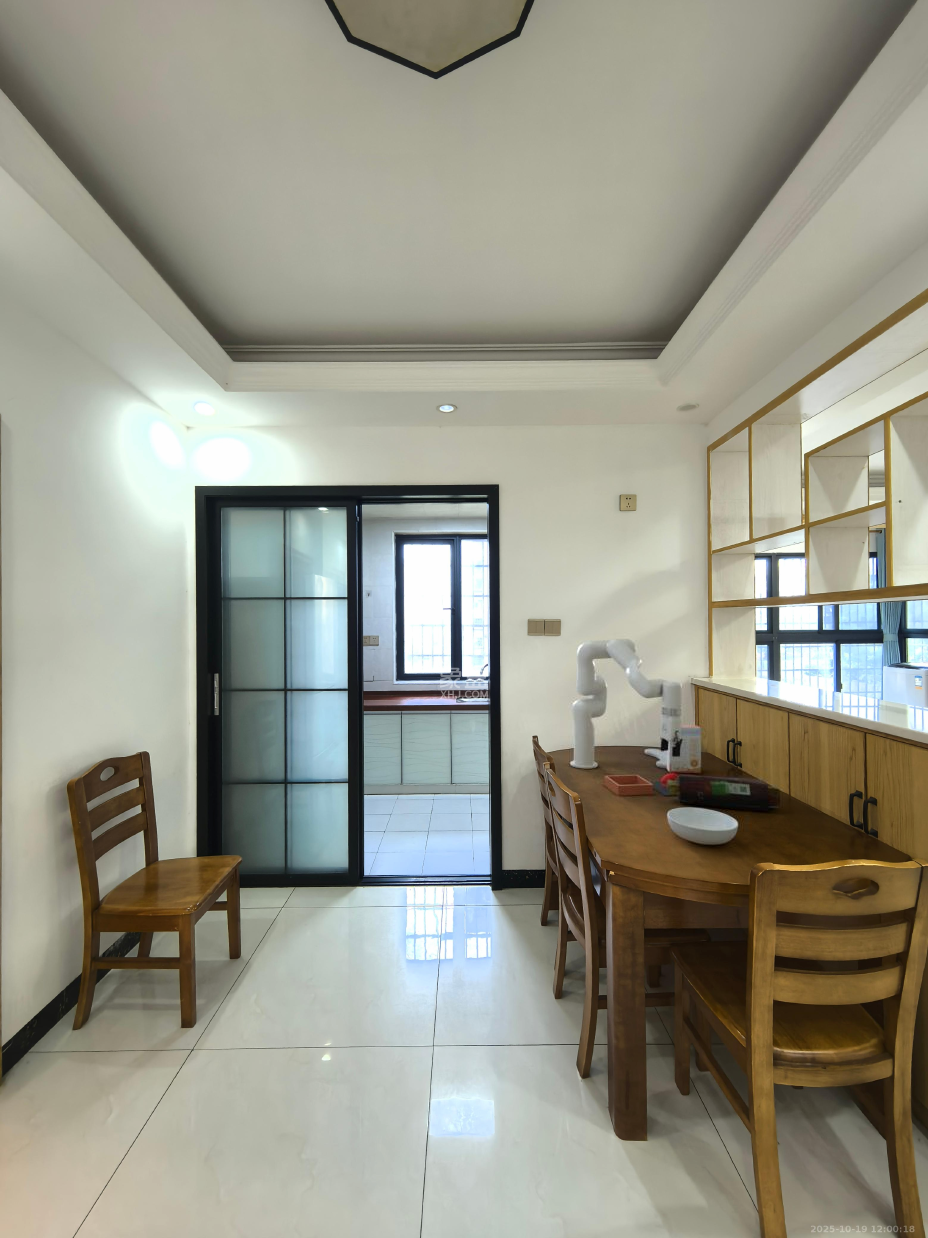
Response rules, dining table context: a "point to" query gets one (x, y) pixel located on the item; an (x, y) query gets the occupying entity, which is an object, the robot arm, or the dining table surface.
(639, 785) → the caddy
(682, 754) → the cracker box
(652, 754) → the holder
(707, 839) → the serving bowl
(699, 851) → the dining table surface
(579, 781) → the dining table surface
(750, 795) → the packaged item
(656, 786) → the mat
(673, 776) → the cap
